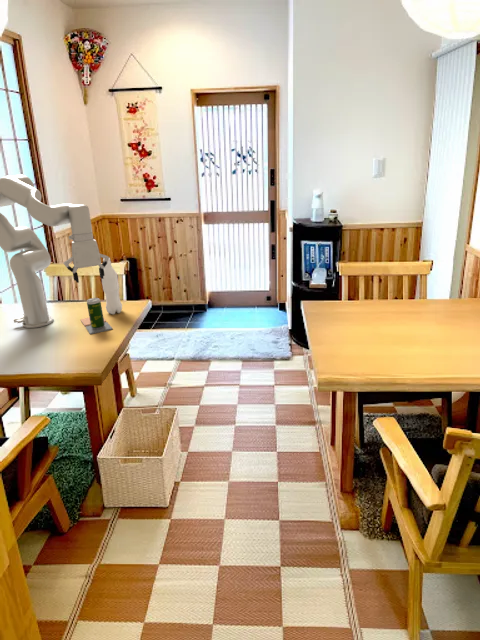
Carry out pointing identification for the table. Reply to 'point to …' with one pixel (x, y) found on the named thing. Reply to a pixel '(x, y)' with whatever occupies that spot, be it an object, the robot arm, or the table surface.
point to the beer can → (95, 313)
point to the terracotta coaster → (87, 321)
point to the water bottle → (111, 289)
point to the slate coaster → (105, 328)
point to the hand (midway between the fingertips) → (89, 280)
